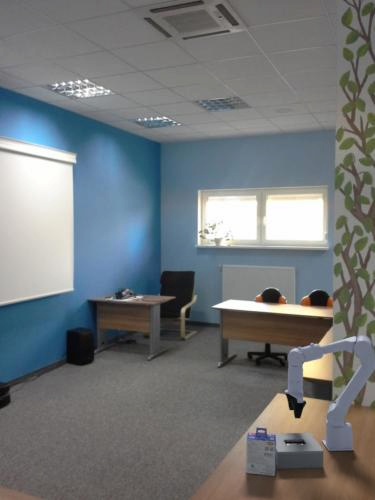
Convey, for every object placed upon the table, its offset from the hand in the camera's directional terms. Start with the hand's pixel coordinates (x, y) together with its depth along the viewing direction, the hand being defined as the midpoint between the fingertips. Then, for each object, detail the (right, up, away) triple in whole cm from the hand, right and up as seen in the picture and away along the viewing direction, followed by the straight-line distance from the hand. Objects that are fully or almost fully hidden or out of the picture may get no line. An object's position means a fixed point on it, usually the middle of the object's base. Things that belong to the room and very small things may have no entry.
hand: (294, 413), depth 183 cm
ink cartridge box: (-17, -12, -22) cm, 30 cm away
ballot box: (-3, -11, -14) cm, 18 cm away
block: (-3, -11, -13) cm, 18 cm away
